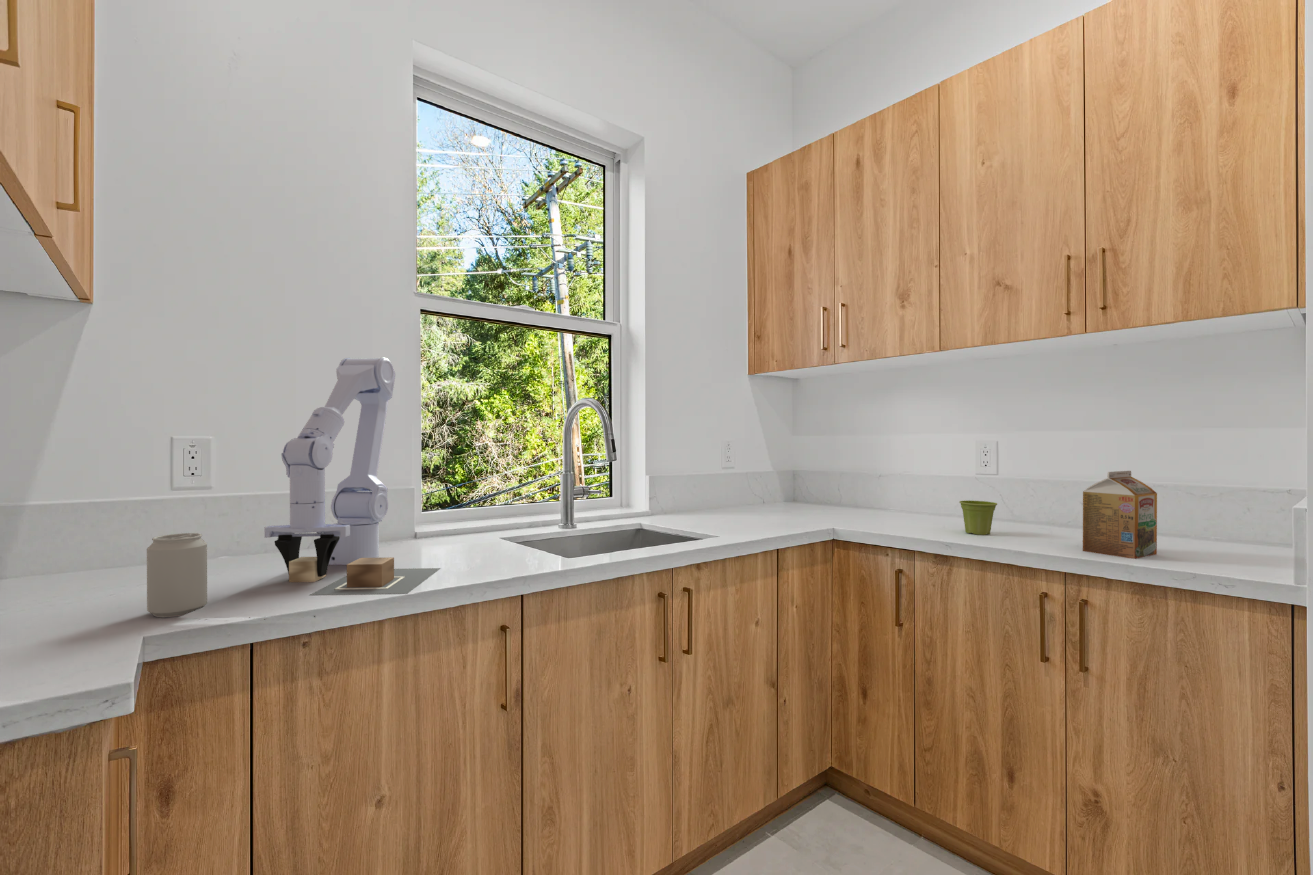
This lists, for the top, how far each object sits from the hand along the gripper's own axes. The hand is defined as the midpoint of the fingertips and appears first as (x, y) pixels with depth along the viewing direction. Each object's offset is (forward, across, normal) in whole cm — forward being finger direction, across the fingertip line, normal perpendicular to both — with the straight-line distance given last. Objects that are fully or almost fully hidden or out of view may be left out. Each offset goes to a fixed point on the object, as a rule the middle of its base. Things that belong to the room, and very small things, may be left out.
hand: (307, 575), depth 117 cm
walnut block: (+1, +13, -4) cm, 14 cm away
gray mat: (+1, +14, -2) cm, 14 cm away
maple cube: (+1, 0, 0) cm, 1 cm away
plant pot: (+2, +157, +49) cm, 164 cm away
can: (+2, -11, -18) cm, 21 cm away
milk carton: (+2, +174, +20) cm, 175 cm away
